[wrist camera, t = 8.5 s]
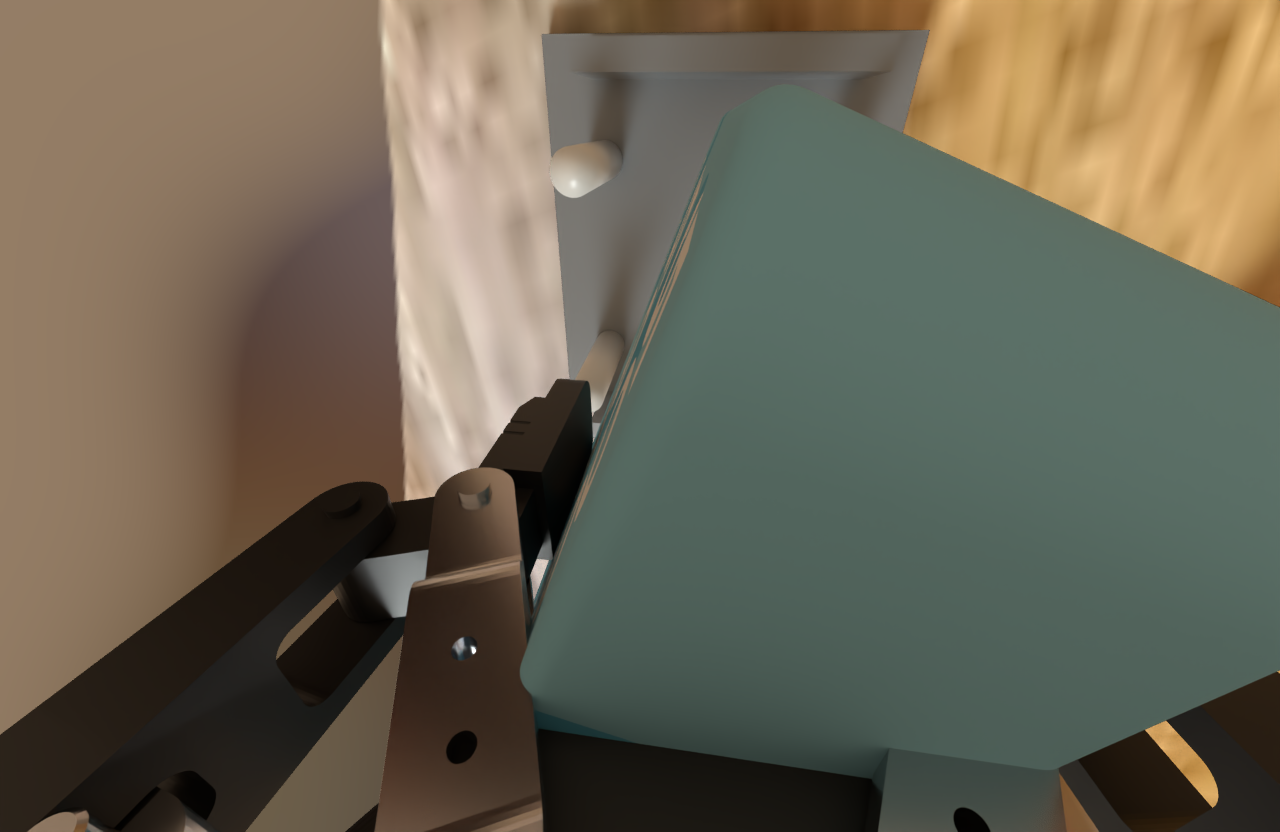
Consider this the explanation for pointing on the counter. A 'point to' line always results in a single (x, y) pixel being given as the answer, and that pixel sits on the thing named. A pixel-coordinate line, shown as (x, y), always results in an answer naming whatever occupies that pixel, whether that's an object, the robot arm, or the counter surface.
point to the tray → (672, 150)
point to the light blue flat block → (913, 472)
